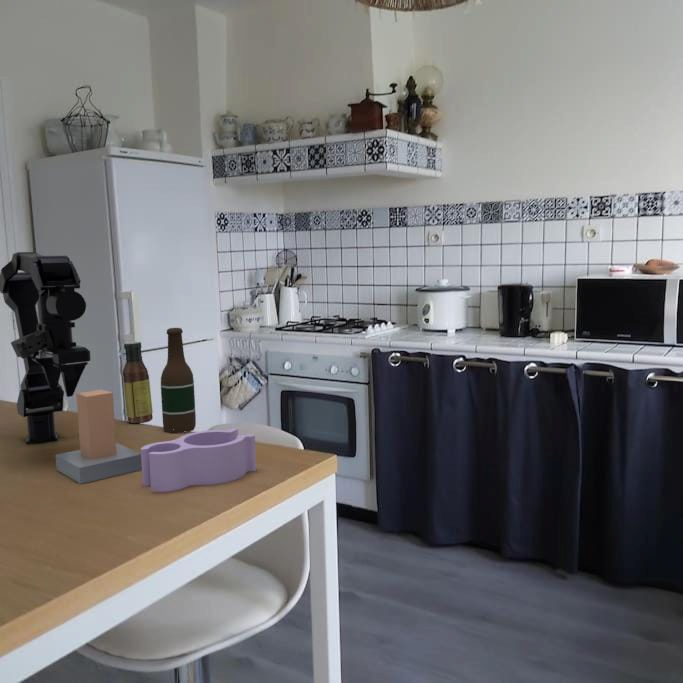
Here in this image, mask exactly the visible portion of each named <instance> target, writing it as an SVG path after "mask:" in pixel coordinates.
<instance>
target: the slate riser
mask: <svg viewBox="0 0 683 683" xmlns="http://www.w3.org/2000/svg"><path fill="white" fill-rule="evenodd" d="M116 451H117V454H115V455H111V456H106V457H102V458H97V459H92V460H90V459H89V458H87V457H85V456H83V455H81V452H80V449H77V450H73V451H66V452H63V453H58V454H57V453H56V454H55V464H56V466H55V467H56V471H58V472H60V473H62V474H63V475H65V476H67V477H68V478H69V479H71V480H73V481H75V482H77V483H78V484H80V485H82V484H86V483H90V482H94V481H99V480H103V479H108V478H112V477H116V476H121V475H124V474H130V473H133V472H137V471H142V462H141V452H137V450H133V449H131V448H129V447H127V446H125V445H122V444H120V443H118V442H116Z"/></svg>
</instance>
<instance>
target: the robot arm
mask: <svg viewBox="0 0 683 683" xmlns="http://www.w3.org/2000/svg"><path fill="white" fill-rule="evenodd" d="M75 289H81V278H80V276H79V273H78V272H77V269H76V266H74V263H73V261H72V260H70V257H69V256H68V255H41V254H39V253H38V252H35V251H17V252H15V253H13V254H12V257H11V260H10V261H8V263H6V264H5V265H4V266H3V267H1V270H0V294H2V296H3V300H4V303H5V304H6V305H7V306H8V308H10V309H11V311H13V312H14V316H15V317H14V318H15V322H16V327H17V333H18V338H17V339H14V340H13V341H11V342H10V344H11V347H12V349H13V351H14V352H15V355H16V356H17V358H21V359H22V360H23V363H24V369H25V374H24V376H23V379H22V381H21V382H20V390H19V393H18V397H17V401H16V410H17V414H18V415H19V416H20V417H23V418H26V421H27V422H26V424H27V434H28V435H26V439H25V443H26V444H29V445H30V444H35V443H36V444H38V443H44V442H55V441H58V439H59V432H58V431H57V432H56V421H55V420H56V419H55V413H57V412H63V409H64V396H65V394H66V397H67V398H68V397H69V398H70V397H73V396H74V394H75V391H76V390H77V387H78V384H79V381H80V379H81V376H82V375H83V372H84V370H85V369H86V366H88V364H89V362H90V361H91V351H90V350H89V349H88V348H87V347H86V346H81V345H77V342H76V341H74V340H73V329H72V328H76V324H75V322H74V321H76V320H79V319H80V318H81V317H82V316H83V315H84V314H85V312H86V308H87V302H86V300H85V298H84V296H83V295H81V294H80V292H79V291H76V290H75ZM38 302H39V303H38ZM37 303H38V304H39V313H40V314H39V315H40V316H39V317H40V318H39V317H38V312H37V306H36V305H37ZM38 318H39V319H40V322H39V319H38ZM60 378H62V383H63V386H64V390H63V387H62V385H61V384H60Z"/></svg>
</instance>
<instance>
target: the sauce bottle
mask: <svg viewBox="0 0 683 683" xmlns="http://www.w3.org/2000/svg"><path fill="white" fill-rule="evenodd" d="M142 348H143V347H142V342H141V341H130V342H124V343H123V349H124V350H125V364H124V367H123V370H122V377H123V378H122V380H123V391H124V403H125V412H126V417H127V421H128V423H129V422H130V424H136V423H137V424H145V423H148V422H151V421H152V420H153V411H154V410H153V402H152V393H151V384H150V383H151V382H150V375H149V372H148V371H149V370H148V369H147V367H146V365H145V363H144V360H143V356H142Z"/></svg>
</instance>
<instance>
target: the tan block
mask: <svg viewBox="0 0 683 683" xmlns="http://www.w3.org/2000/svg"><path fill="white" fill-rule="evenodd" d="M113 394H114V392H111V391H108V390H105V389H102V388H101V389H96V390H90V391H83V392H76V394H75V395H76V408H77V421H78V434H79V435H78V437H79V448H80V449H79V450H80V452H81V455H83V456H85V457H87V458H89V459H90V460H92V459H97V458H102V457H106V456H111V455H115V454H117V451H116V443H117V439H116V425H115V424H116V423H115V409H114V408H115V407H114V395H113Z"/></svg>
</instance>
